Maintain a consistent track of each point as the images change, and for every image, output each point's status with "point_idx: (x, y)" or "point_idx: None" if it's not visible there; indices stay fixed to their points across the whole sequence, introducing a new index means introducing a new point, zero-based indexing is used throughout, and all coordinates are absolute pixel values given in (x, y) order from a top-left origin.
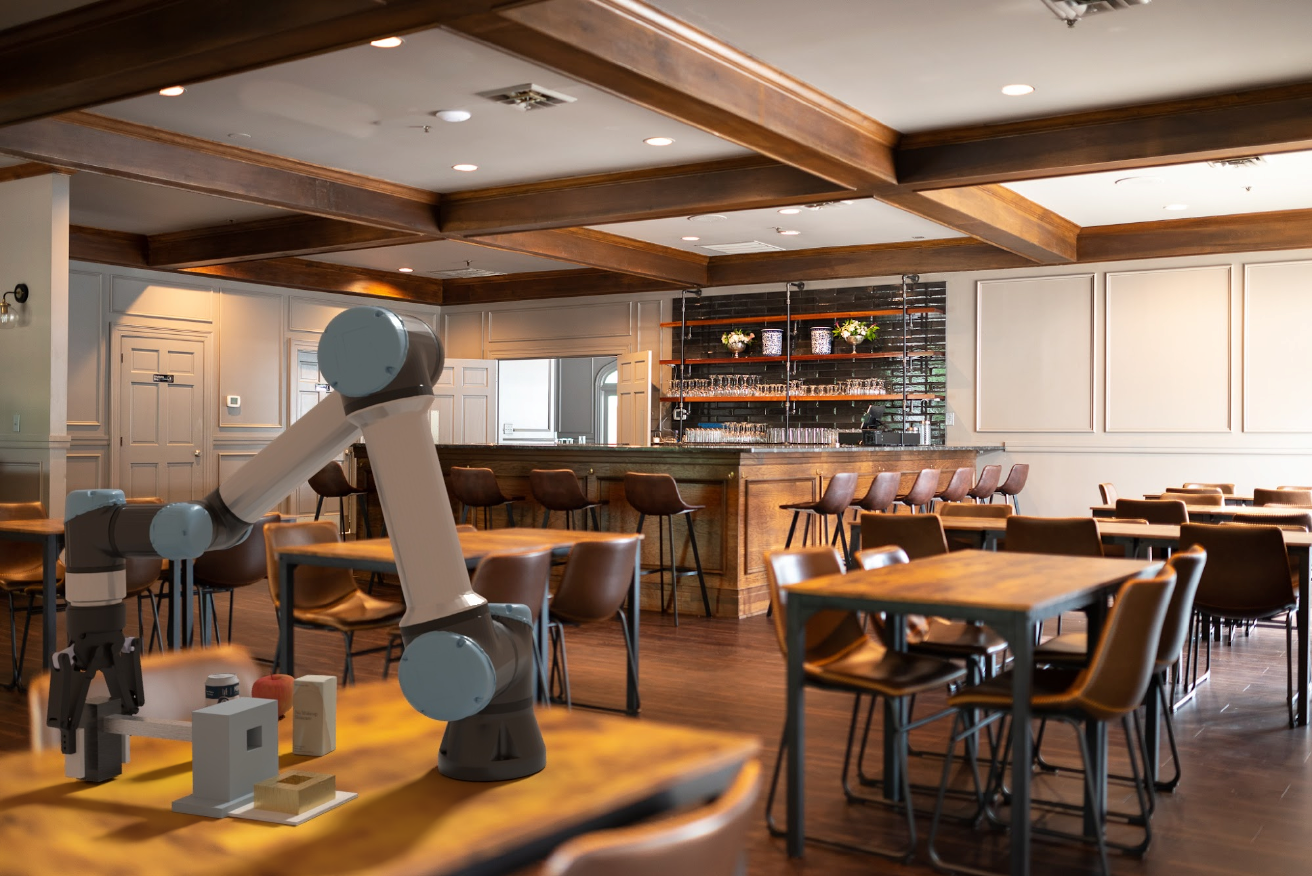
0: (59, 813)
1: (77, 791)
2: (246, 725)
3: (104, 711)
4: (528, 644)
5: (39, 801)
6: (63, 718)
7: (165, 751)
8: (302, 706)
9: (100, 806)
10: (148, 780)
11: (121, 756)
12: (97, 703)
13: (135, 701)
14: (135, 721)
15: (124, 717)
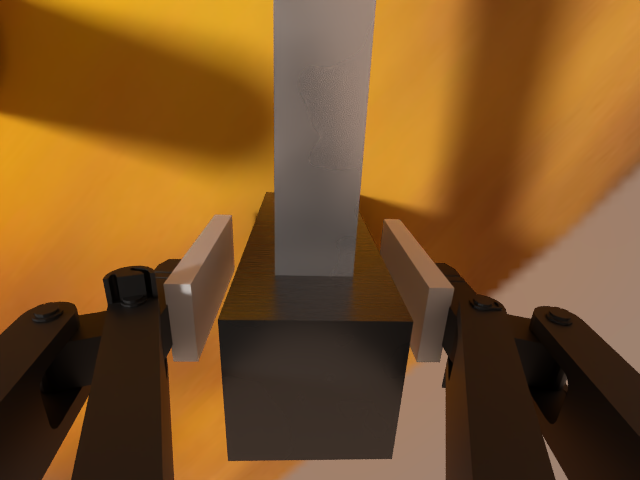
0: (582, 94)
1: (402, 207)
2: None
3: (350, 291)
4: None
5: (493, 230)
6: (576, 334)
7: (18, 275)
8: None
9: (513, 23)
10: (257, 90)
11: (261, 207)
12: (394, 336)
13: (71, 338)
14: (373, 21)
15: (320, 167)
